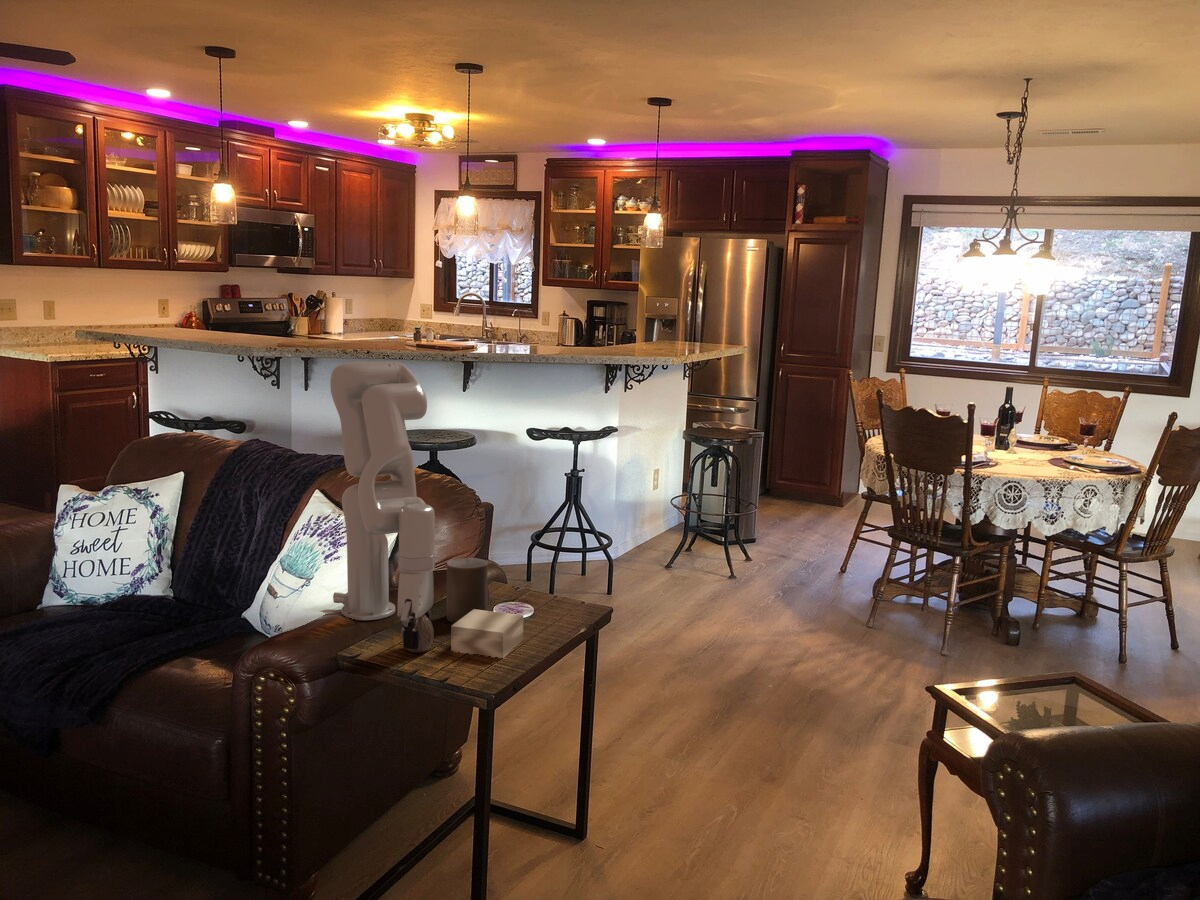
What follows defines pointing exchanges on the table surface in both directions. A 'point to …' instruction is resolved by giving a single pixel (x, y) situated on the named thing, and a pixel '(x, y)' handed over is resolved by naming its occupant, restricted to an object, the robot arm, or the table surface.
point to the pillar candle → (466, 587)
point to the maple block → (487, 633)
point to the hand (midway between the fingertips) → (417, 641)
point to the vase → (422, 633)
